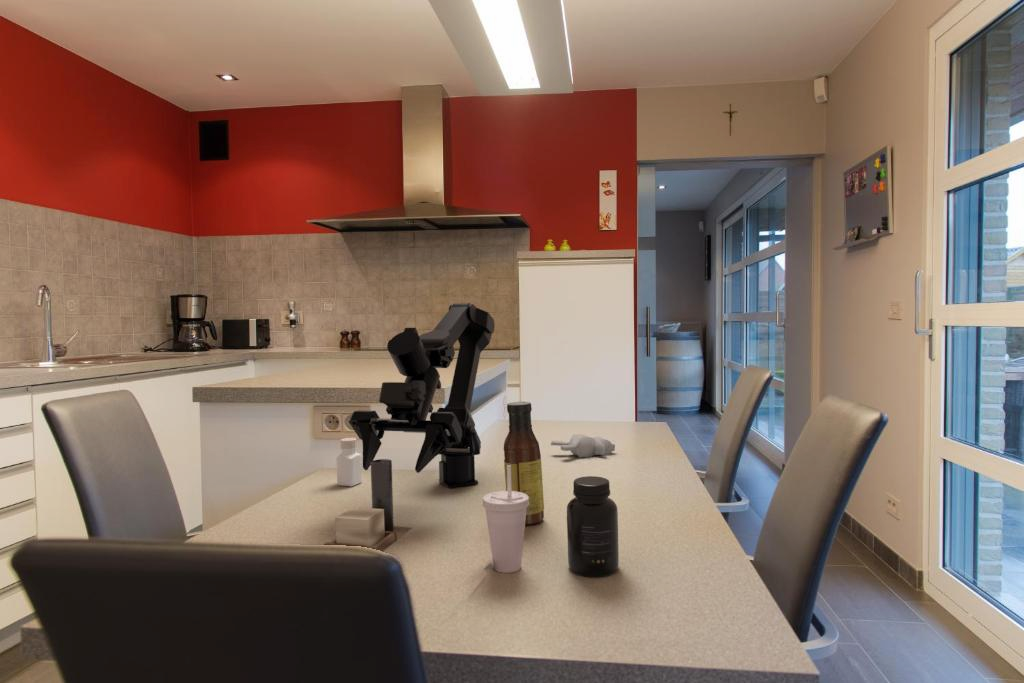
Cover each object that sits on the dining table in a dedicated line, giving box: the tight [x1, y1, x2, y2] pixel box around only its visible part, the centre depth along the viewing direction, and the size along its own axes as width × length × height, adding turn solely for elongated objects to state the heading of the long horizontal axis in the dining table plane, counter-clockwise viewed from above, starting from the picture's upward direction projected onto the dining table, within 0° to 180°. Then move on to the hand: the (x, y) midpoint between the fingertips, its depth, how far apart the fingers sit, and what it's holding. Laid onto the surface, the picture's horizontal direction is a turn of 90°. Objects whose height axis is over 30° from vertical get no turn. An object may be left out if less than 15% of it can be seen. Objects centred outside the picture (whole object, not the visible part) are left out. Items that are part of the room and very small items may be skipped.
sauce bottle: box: [503, 401, 545, 526], centre depth 103 cm, size 7×6×20 cm
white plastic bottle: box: [336, 437, 363, 487], centre depth 129 cm, size 4×4×10 cm
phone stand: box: [323, 458, 413, 552], centre depth 92 cm, size 13×8×12 cm, turn 164°
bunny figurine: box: [550, 434, 616, 459], centre depth 151 cm, size 10×5×15 cm
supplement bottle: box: [566, 475, 620, 578], centre depth 83 cm, size 7×7×12 cm
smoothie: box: [481, 465, 529, 574], centre depth 84 cm, size 6×6×14 cm
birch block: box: [335, 506, 385, 546], centre depth 90 cm, size 5×5×5 cm
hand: (390, 470), depth 99 cm, fingers open, 9 cm apart
